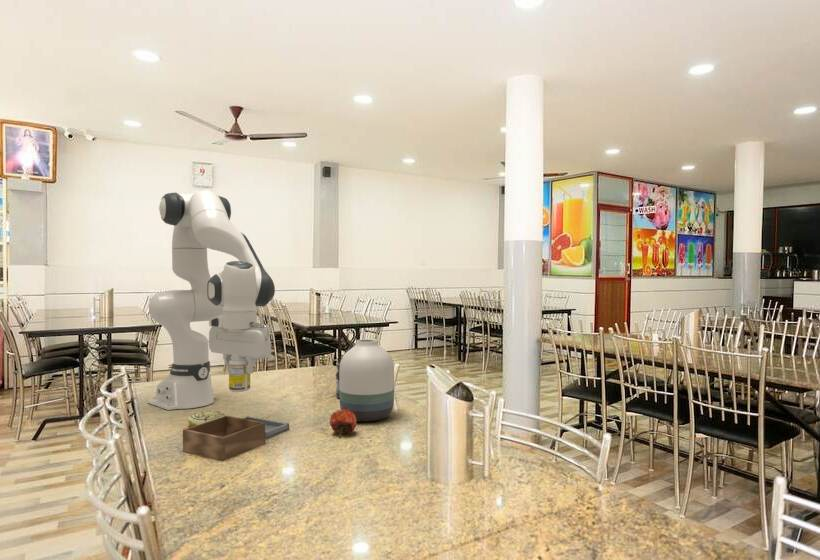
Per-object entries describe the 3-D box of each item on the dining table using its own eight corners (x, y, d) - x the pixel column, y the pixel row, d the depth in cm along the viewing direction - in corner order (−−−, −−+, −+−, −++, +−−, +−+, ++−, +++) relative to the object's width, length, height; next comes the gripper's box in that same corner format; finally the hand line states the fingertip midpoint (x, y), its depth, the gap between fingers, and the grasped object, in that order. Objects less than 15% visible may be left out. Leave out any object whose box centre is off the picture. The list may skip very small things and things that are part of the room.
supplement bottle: (243, 386, 145) (243, 350, 145) (254, 389, 141) (254, 352, 141) (224, 390, 141) (224, 352, 140) (235, 393, 137) (235, 355, 137)
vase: (401, 412, 166) (401, 338, 166) (381, 428, 150) (381, 345, 150) (353, 408, 172) (353, 335, 171) (329, 422, 156) (329, 342, 155)
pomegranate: (355, 445, 142) (363, 415, 149) (346, 429, 137) (355, 399, 145) (330, 446, 144) (340, 416, 151) (321, 430, 140) (331, 400, 147)
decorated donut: (202, 434, 145) (202, 421, 145) (180, 427, 151) (180, 414, 151) (233, 425, 153) (233, 412, 153) (212, 419, 160) (212, 406, 160)
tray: (221, 431, 147) (221, 425, 147) (247, 422, 156) (247, 416, 156) (264, 440, 139) (264, 433, 139) (289, 429, 148) (289, 423, 148)
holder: (182, 451, 131) (182, 429, 131) (226, 435, 143) (226, 415, 143) (223, 461, 124) (223, 438, 124) (265, 443, 137) (265, 422, 137)
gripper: (276, 322, 138) (276, 374, 139) (222, 317, 148) (222, 365, 149) (259, 325, 133) (259, 378, 133) (204, 319, 142) (204, 369, 143)
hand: (239, 371), depth 141 cm, fingers closed on supplement bottle, 5 cm apart
